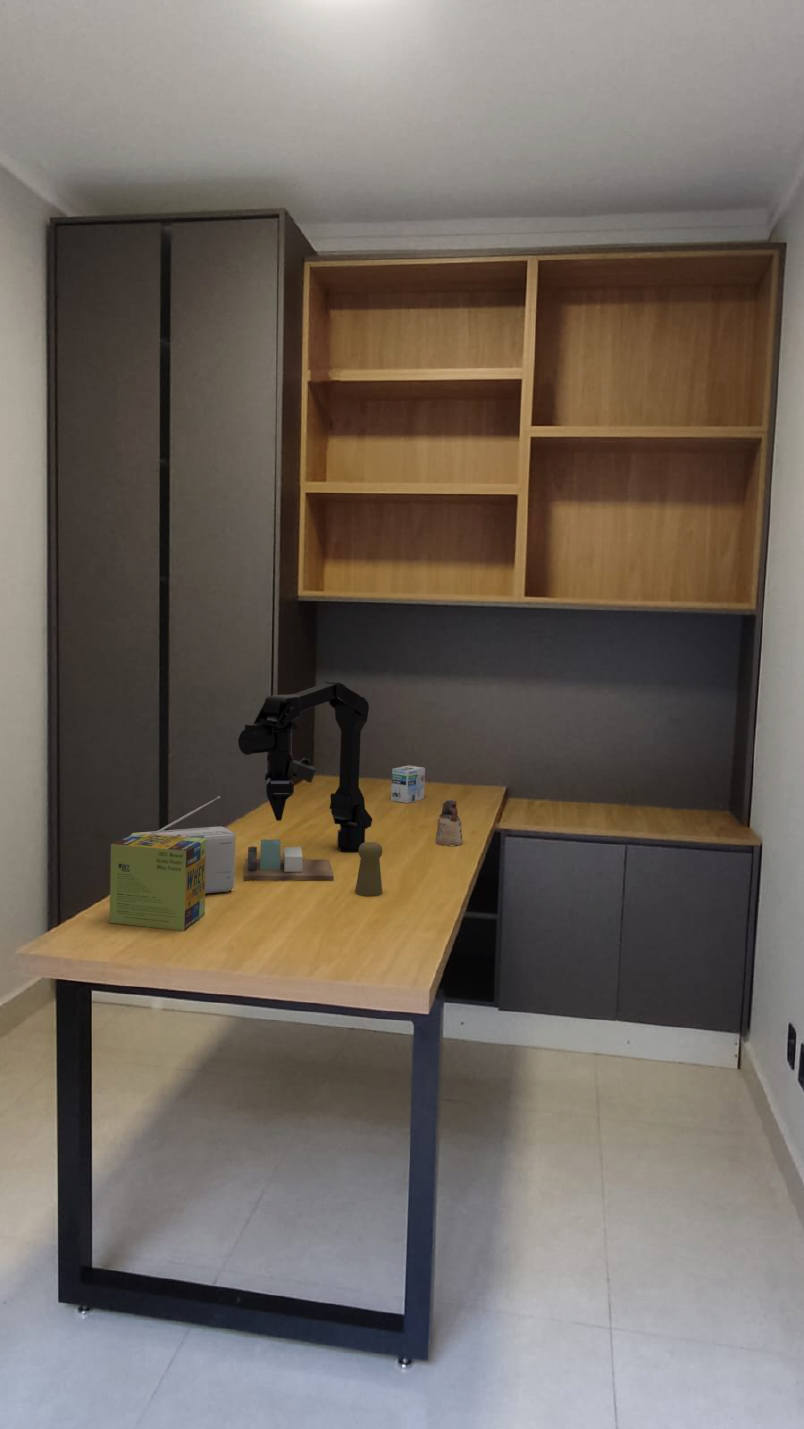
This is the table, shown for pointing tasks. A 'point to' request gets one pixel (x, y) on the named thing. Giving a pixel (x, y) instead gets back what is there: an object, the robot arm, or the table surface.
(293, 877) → the board
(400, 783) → the light bulb box
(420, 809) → the table surface
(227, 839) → the stereo radio cassette player
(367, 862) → the olive pepper mill
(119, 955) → the table surface
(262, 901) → the table surface
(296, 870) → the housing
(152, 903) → the protein box
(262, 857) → the block
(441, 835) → the figurine
